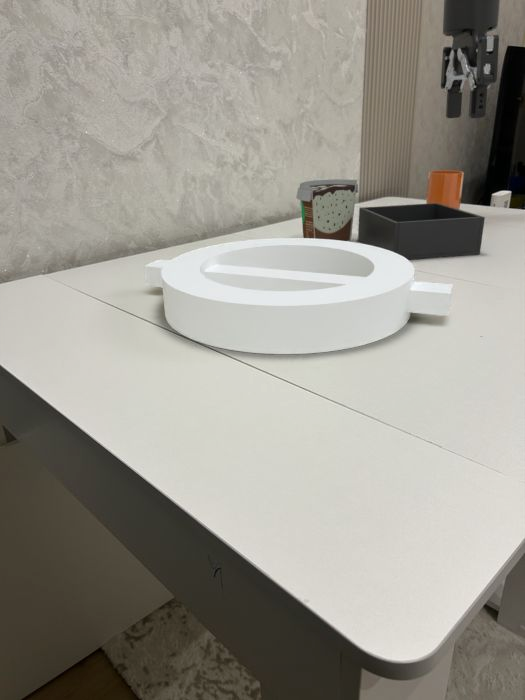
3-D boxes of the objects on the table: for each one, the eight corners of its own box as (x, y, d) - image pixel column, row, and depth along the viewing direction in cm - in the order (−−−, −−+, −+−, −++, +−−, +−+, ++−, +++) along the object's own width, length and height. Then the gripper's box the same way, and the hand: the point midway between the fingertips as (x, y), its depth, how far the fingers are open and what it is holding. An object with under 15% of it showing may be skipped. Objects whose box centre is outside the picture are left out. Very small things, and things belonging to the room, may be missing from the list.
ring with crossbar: (141, 289, 71) (137, 252, 69) (331, 262, 80) (332, 230, 79) (210, 376, 47) (206, 325, 45) (466, 324, 57) (472, 280, 55)
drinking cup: (447, 215, 113) (452, 169, 110) (464, 220, 108) (470, 172, 104) (419, 216, 112) (423, 171, 109) (434, 222, 107) (439, 174, 103)
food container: (328, 235, 98) (329, 177, 94) (356, 240, 94) (358, 179, 90) (280, 247, 90) (280, 184, 86) (308, 253, 86) (309, 187, 82)
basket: (434, 235, 96) (437, 202, 94) (479, 254, 83) (485, 217, 81) (357, 240, 93) (359, 207, 91) (392, 261, 81) (395, 222, 78)
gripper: (523, -19, 72) (511, 115, 78) (475, 2, 85) (468, 115, 91) (467, -14, 71) (459, 120, 78) (428, 6, 84) (424, 119, 91)
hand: (464, 117), depth 84 cm, fingers open, 8 cm apart
